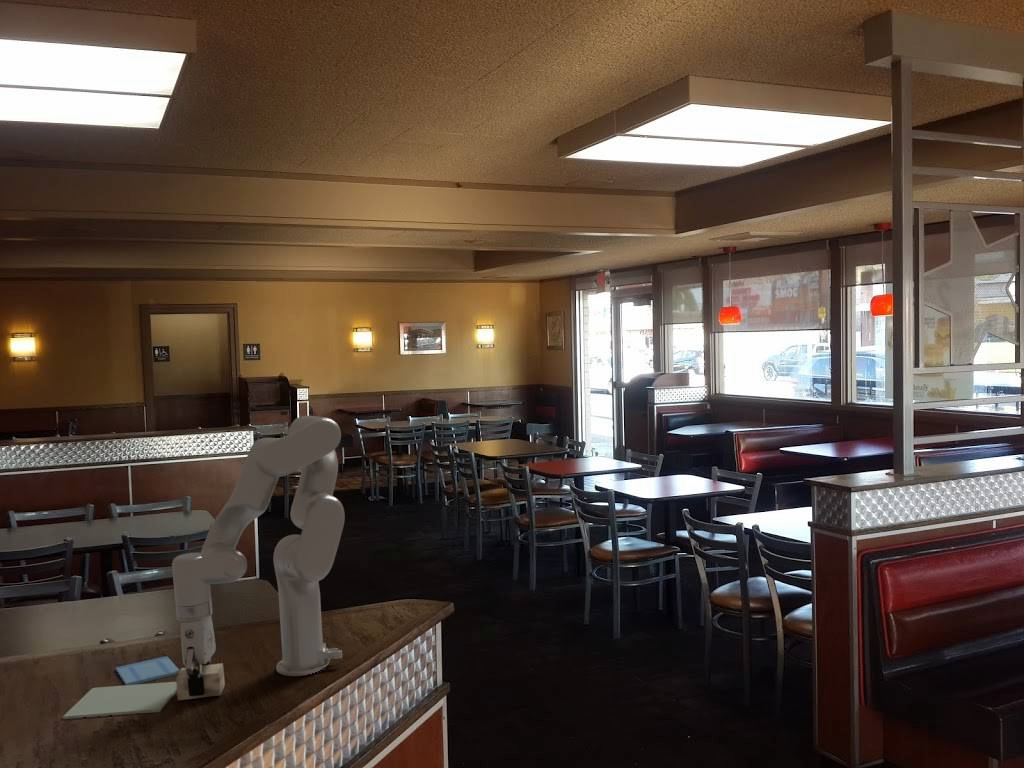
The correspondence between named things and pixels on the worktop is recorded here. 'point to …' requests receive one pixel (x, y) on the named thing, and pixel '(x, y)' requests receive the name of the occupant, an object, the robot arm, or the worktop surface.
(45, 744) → the worktop surface
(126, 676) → the waterproof phone case
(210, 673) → the card box
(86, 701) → the card mat
